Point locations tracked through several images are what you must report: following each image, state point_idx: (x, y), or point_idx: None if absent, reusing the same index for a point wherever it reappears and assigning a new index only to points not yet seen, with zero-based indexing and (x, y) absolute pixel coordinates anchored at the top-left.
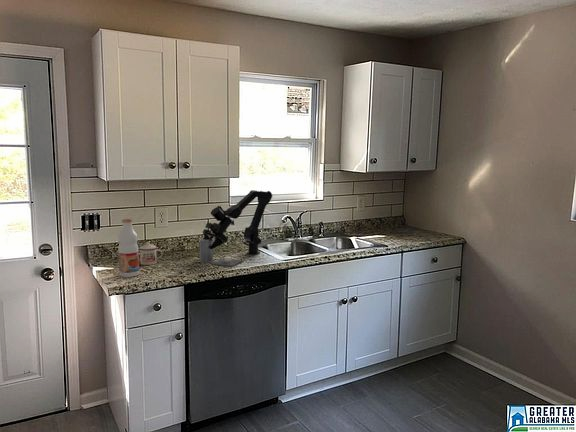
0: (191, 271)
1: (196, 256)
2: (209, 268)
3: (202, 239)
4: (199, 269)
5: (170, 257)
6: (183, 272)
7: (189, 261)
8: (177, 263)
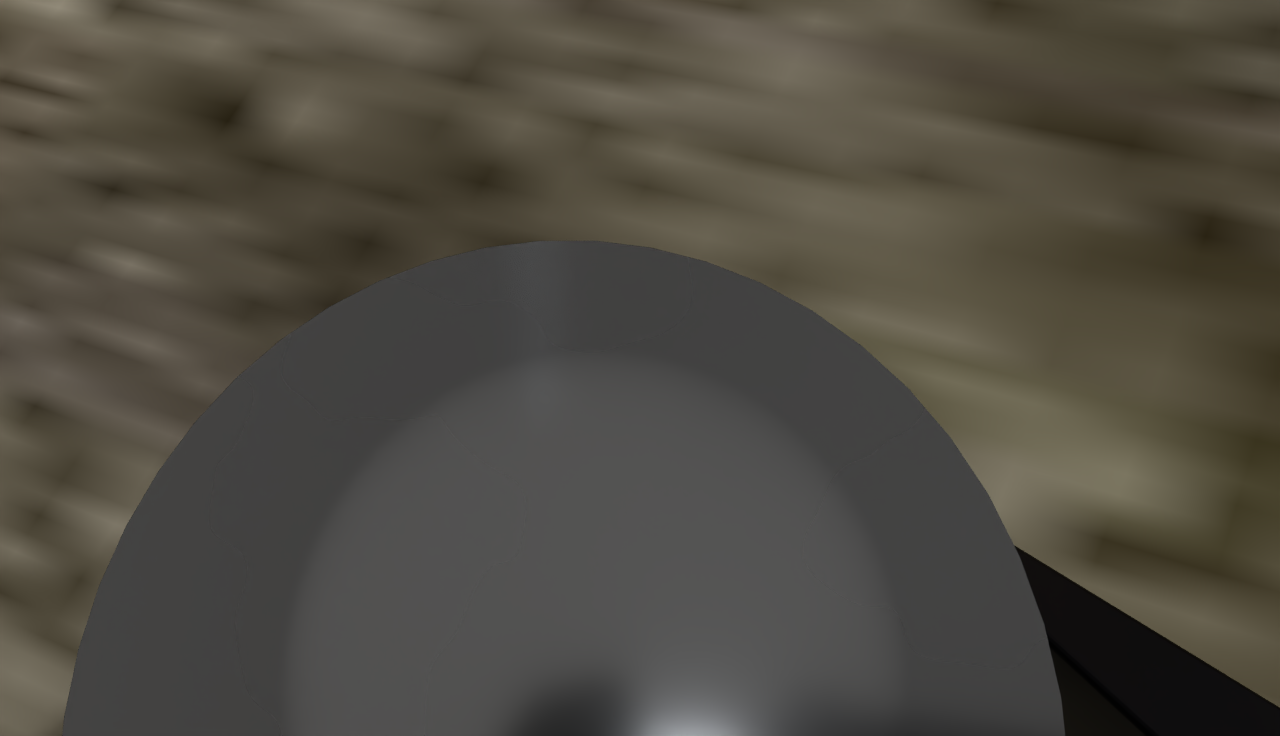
0: (91, 116)
1: (1220, 521)
2: (78, 440)
3: (939, 554)
4: (125, 260)
5: (1272, 9)
6: (113, 3)
7: (782, 253)
8: (717, 32)
